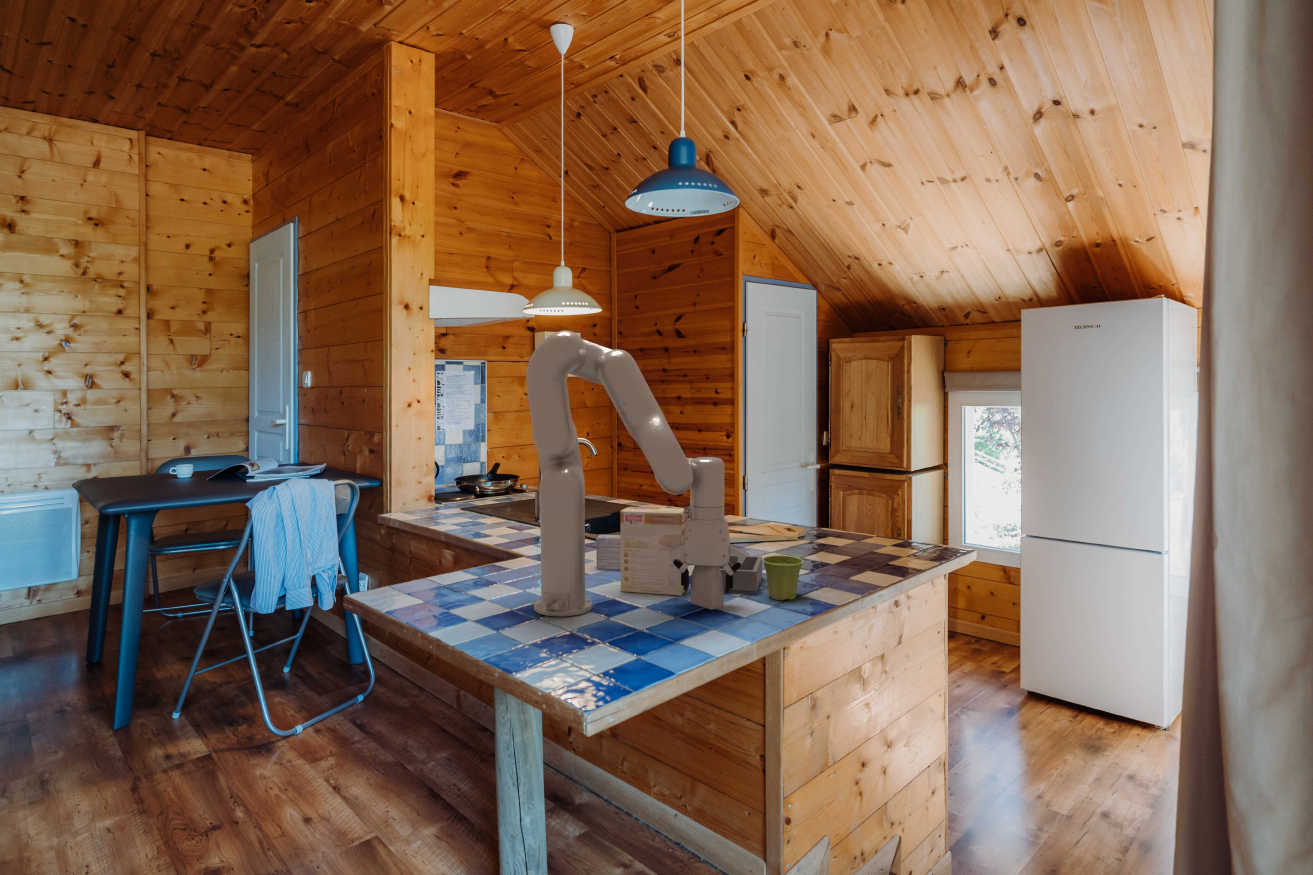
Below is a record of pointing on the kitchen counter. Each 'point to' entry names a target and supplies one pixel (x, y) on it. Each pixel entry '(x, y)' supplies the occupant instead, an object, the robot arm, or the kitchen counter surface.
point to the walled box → (745, 575)
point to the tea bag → (707, 587)
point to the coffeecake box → (651, 549)
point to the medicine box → (608, 552)
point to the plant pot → (782, 576)
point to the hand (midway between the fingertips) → (707, 590)
